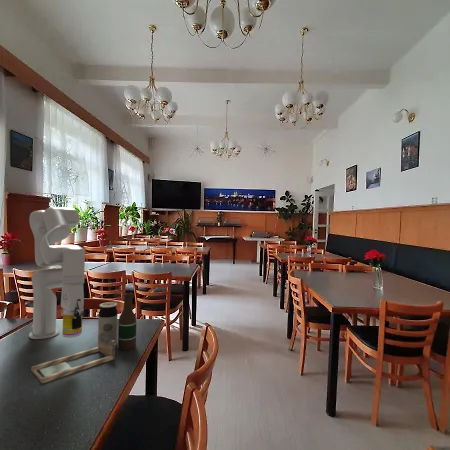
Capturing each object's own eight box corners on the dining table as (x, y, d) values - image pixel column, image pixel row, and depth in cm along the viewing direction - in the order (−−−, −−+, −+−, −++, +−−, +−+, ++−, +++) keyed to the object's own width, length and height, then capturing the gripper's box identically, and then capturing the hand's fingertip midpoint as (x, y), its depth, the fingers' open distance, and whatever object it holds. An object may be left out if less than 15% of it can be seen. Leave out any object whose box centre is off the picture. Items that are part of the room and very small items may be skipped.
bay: (43, 385, 100) (44, 363, 100) (31, 370, 110) (31, 350, 110) (117, 359, 120) (118, 341, 120) (102, 349, 129) (102, 332, 129)
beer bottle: (120, 343, 136) (121, 291, 136) (137, 343, 137) (138, 291, 136) (115, 350, 128) (116, 295, 128) (133, 350, 129) (135, 295, 129)
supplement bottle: (74, 339, 110) (75, 304, 110) (58, 337, 112) (59, 303, 111) (85, 332, 117) (86, 300, 117) (70, 331, 118) (71, 298, 118)
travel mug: (101, 340, 139) (101, 302, 139) (118, 340, 140) (119, 301, 139) (95, 347, 131) (96, 306, 131) (114, 347, 132) (115, 306, 131)
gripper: (54, 277, 117) (53, 322, 117) (72, 284, 105) (71, 334, 106) (73, 275, 122) (72, 318, 123) (93, 281, 111) (92, 329, 111)
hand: (72, 325), depth 114 cm, fingers closed on supplement bottle, 6 cm apart
